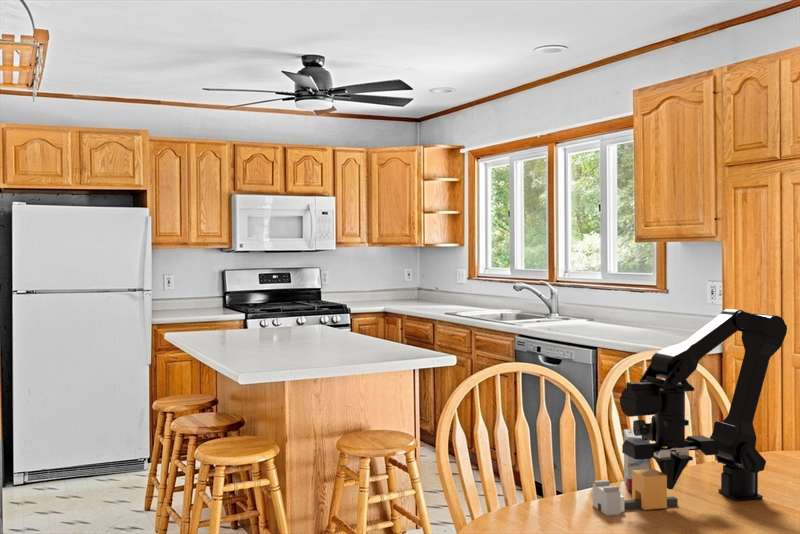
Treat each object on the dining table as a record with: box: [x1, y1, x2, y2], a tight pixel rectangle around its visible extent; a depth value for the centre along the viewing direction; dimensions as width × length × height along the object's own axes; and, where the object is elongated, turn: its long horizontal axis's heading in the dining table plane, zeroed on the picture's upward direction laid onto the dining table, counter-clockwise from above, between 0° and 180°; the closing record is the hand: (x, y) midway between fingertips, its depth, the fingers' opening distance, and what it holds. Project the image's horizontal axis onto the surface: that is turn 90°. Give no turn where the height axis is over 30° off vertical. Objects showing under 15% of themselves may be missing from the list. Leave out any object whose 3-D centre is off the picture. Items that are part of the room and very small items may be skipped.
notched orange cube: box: [631, 468, 668, 511], centre depth 157 cm, size 5×5×7 cm
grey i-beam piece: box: [592, 479, 622, 517], centre depth 155 cm, size 3×6×5 cm, turn 12°
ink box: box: [623, 428, 651, 492], centre depth 170 cm, size 9×5×12 cm, turn 168°
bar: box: [597, 496, 679, 512], centre depth 156 cm, size 17×1×1 cm, turn 102°
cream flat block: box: [621, 494, 625, 513], centre depth 155 cm, size 1×4×3 cm, turn 12°
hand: (669, 488), depth 158 cm, fingers closed
